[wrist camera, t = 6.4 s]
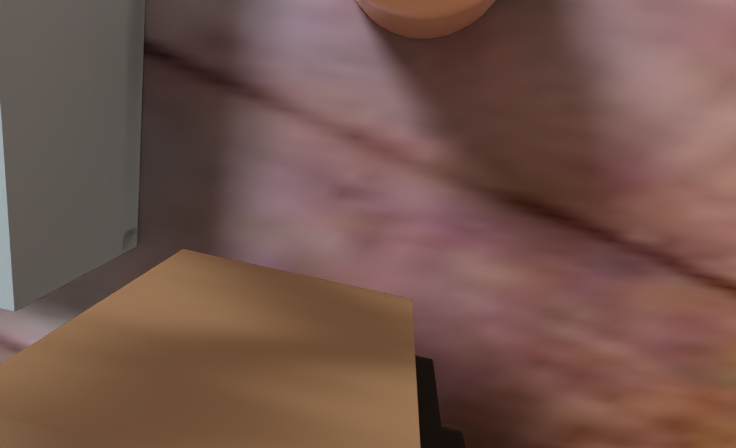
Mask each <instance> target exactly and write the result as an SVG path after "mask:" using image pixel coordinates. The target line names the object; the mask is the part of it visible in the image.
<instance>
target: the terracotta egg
mask: <svg viewBox="0 0 736 448" xmlns="http://www.w3.org/2000/svg"><path fill="white" fill-rule="evenodd" d="M495 1H496V0H356V2H357V3H358V5H359V6H360V7H361V9H362V10H363V11H364V12H365V13H366V14H367V15H368V16H369V17H370V18H371V19H372V20H373V21H375V22H376V23H377V24H378V25H380V26H382V27H383V28H385V29H386V30H388V31H391V32H393V33H395V34H398V35H401V36H405V37H409V38H417V39H430V38H437V37H442V36H446V35H449V34H452V33H455V32H457V31H459V30H461V29H463V28H465V27H467V26H468V25H470V24H471V23H473V22H474V21H476V20H477V19H478V18H479V17H481V16H482V15H483V14H484V13H485V12H486V11H487V10H488V9H489V8H490V7H491V6H492V5H493V4H494V2H495Z"/></svg>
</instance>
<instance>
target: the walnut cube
mask: <svg viewBox="0 0 736 448" xmlns="http://www.w3.org/2000/svg"><path fill="white" fill-rule="evenodd" d="M0 448H420V432H419V415H418V398H417V380H416V363H415V346H414V329H413V312H412V299H409V298H404V297H400V296H395V295H391V294H386V293H382V292H377V291H373V290H368V289H364V288H359V287H354V286H350V285H345V284H341V283H336V282H332V281H327V280H323V279H318V278H313V277H309V276H304V275H300V274H295V273H291V272H286V271H282V270H277V269H272V268H268V267H263V266H259V265H254V264H250V263H245V262H241V261H236V260H232V259H227V258H222V257H218V256H213V255H209V254H204V253H200V252H195V251H191V250H186V249H182V250H180V251H179V252H177V253H176V254H174V255H173V256H171V257H169V258H168V259H166V260H165V261H163V262H161V263H160V264H158V265H157V266H155V267H154V268H152V269H150V270H149V271H147V272H146V273H144V274H143V275H141V276H139V277H138V278H136V279H135V280H133V281H132V282H130V283H128V284H127V285H125V286H124V287H122V288H120V289H119V290H117V291H116V292H114V293H113V294H111V295H109V296H108V297H106V298H105V299H103V300H102V301H100V302H98V303H97V304H95V305H94V306H92V307H91V308H89V309H87V310H86V311H84V312H83V313H81V314H79V315H78V316H76V317H75V318H73V319H72V320H70V321H68V322H67V323H65V324H64V325H62V326H61V327H59V328H57V329H56V330H54V331H53V332H51V333H49V334H48V335H46V336H45V337H43V338H42V339H40V340H38V341H37V342H35V343H34V344H32V345H31V346H29V347H27V348H26V349H24V350H23V351H21V352H20V353H18V354H16V355H15V356H13V357H12V358H10V359H8V360H7V361H5V362H4V363H2V364H1V365H0Z"/></svg>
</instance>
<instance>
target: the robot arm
mask: <svg viewBox="0 0 736 448" xmlns="http://www.w3.org/2000/svg"><path fill="white" fill-rule="evenodd" d="M415 363H416V380H417V398H418V415H419V432H420V448H465V443H464V438H463V435H462V433H461V432H460V431H458V430H453V429H449V428H445V427H441V422H440V414H439V406H438V398H437V390H436V382H435V374H434V367H433V361H432V359H428V358H424V357H419V356H415Z"/></svg>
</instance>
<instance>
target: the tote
mask: <svg viewBox="0 0 736 448" xmlns="http://www.w3.org/2000/svg"><path fill="white" fill-rule="evenodd" d="M144 24H145V0H0V308H2V309H6V310H10V311H14V312H15V311H16V310H18V309H20V308H22V307H24V306H26V305H28V304H30V303H31V302H33V301H35V300H37V299H39V298H41V297H43V296H45V295H46V294H48V293H50V292H52V291H54V290H56V289H58V288H60V287H61V286H63V285H65V284H67V283H69V282H71V281H73V280H75V279H76V278H78V277H80V276H82V275H84V274H86V273H88V272H90V271H91V270H93V269H95V268H97V267H99V266H101V265H103V264H105V263H106V262H108V261H110V260H112V259H114V258H116V257H118V256H120V255H121V254H123V253H125V252H127V251H129V250H131V249H133V248H135V247H136V246H137V235H138V205H139V175H140V145H141V115H142V85H143V54H144Z"/></svg>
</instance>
